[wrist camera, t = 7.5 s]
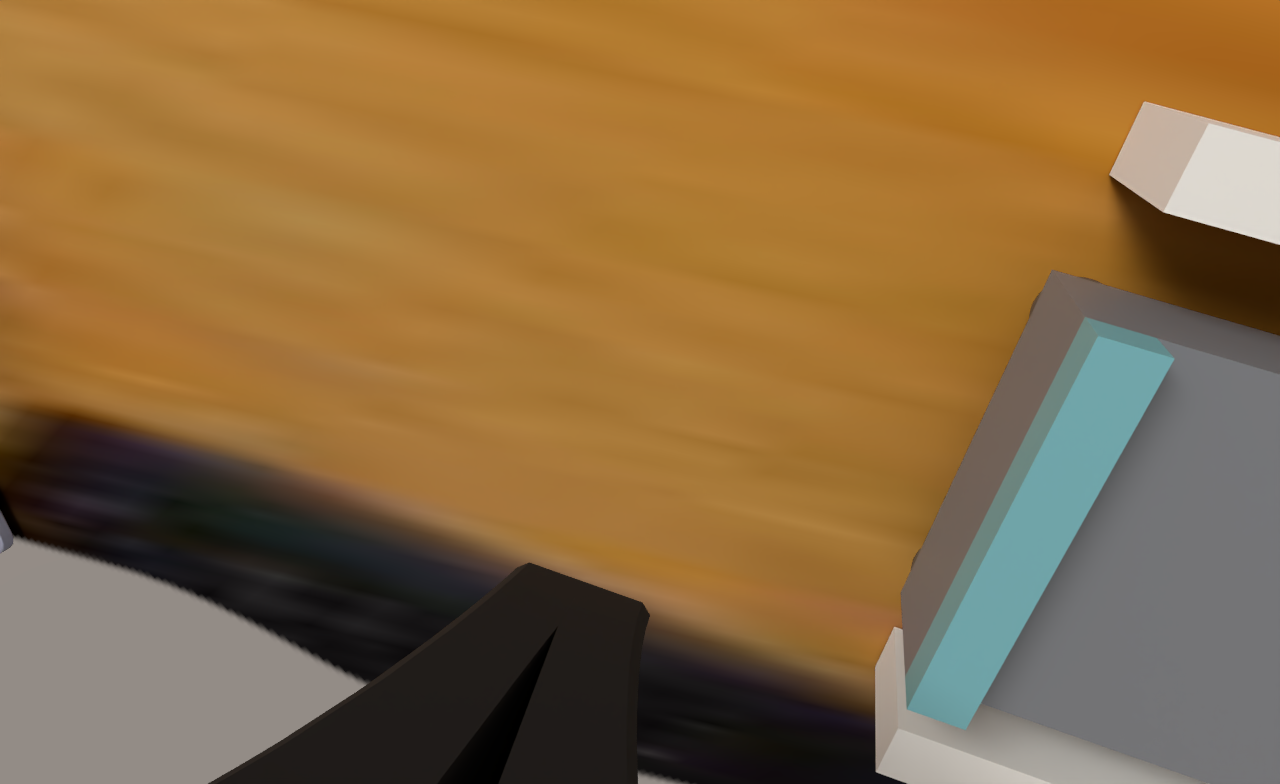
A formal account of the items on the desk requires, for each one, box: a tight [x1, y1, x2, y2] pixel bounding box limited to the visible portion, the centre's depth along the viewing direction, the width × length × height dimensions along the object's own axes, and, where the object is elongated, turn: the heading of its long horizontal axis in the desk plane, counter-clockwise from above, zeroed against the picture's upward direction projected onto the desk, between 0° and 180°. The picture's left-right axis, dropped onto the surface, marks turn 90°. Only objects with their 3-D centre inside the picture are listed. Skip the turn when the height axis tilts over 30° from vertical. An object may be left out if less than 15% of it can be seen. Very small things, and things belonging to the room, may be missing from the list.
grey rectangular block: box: [901, 270, 1280, 784], centre depth 14 cm, size 10×7×4 cm
